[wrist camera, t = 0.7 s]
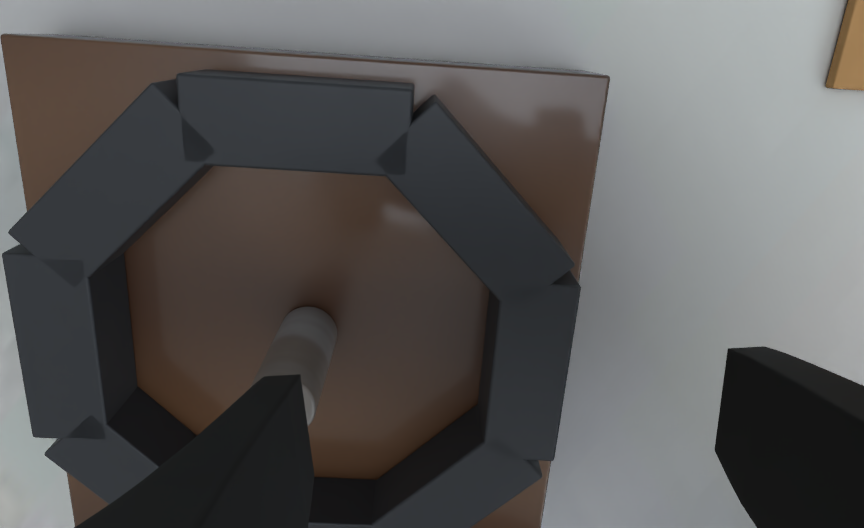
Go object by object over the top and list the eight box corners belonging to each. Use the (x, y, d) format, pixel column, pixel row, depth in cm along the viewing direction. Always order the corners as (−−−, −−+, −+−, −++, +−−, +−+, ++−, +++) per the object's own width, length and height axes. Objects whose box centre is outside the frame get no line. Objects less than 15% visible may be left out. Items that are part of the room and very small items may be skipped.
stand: (526, 497, 23) (563, 661, 17) (110, 479, 23) (-5, 641, 16) (586, 70, 18) (670, 87, 12) (55, 34, 18) (-141, 31, 11)
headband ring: (524, 536, 21) (535, 586, 19) (88, 518, 20) (53, 567, 18) (588, 94, 16) (611, 102, 14) (21, 56, 15) (-34, 58, 14)
